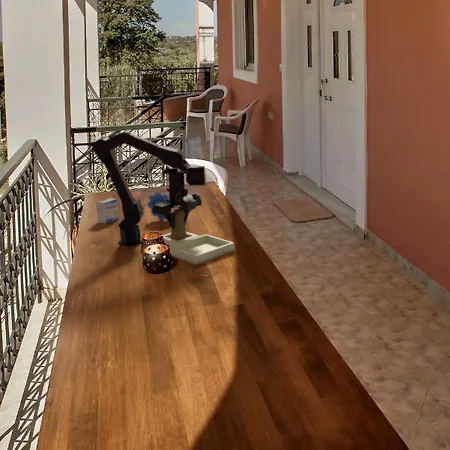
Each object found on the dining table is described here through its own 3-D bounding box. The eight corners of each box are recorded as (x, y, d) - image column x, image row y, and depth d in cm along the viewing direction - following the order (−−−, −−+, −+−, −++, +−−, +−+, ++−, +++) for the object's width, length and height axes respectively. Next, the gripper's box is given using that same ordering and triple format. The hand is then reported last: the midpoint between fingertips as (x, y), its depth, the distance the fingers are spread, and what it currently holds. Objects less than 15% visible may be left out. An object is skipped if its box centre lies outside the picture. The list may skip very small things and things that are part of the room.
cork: (178, 242, 204) (177, 212, 200) (167, 239, 207) (165, 209, 204) (190, 238, 208) (189, 209, 205) (179, 235, 212) (177, 206, 208)
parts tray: (195, 264, 186) (195, 256, 186) (168, 254, 196) (167, 246, 195) (234, 250, 199) (234, 242, 198) (206, 242, 208) (206, 234, 207)
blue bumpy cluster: (144, 222, 233) (142, 194, 229) (150, 218, 239) (149, 190, 235) (172, 224, 230) (170, 195, 226) (177, 219, 236) (176, 191, 233)
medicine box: (105, 224, 232) (103, 203, 230) (97, 222, 234) (95, 201, 232) (119, 219, 238) (117, 198, 236) (111, 217, 241) (109, 197, 238)
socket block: (177, 249, 201) (177, 242, 200) (158, 243, 208) (158, 236, 207) (199, 242, 208) (199, 235, 207) (180, 236, 215) (180, 229, 214)
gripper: (171, 194, 190) (173, 239, 195) (211, 184, 203) (212, 226, 207) (150, 189, 198) (152, 232, 202) (190, 179, 210) (191, 220, 215)
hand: (178, 228), depth 206 cm, fingers closed on cork, 4 cm apart
